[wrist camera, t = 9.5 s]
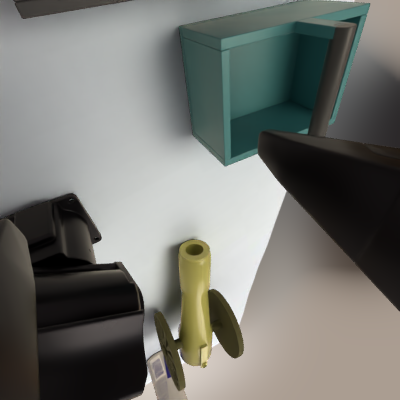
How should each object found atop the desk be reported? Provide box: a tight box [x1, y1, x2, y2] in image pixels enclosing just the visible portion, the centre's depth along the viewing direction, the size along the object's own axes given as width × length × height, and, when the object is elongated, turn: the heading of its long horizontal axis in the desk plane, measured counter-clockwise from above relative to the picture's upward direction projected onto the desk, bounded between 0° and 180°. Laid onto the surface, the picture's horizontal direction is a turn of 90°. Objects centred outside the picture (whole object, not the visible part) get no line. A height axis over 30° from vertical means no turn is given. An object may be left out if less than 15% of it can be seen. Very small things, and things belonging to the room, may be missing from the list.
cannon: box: [154, 240, 244, 391], centre depth 37 cm, size 25×12×11 cm, turn 174°
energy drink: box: [147, 351, 187, 400], centre depth 50 cm, size 5×5×12 cm
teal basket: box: [179, 0, 370, 166], centre depth 19 cm, size 9×12×10 cm
